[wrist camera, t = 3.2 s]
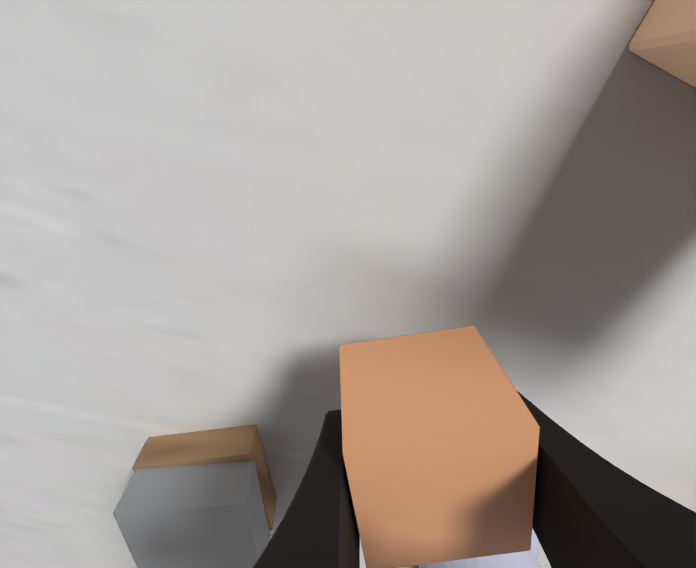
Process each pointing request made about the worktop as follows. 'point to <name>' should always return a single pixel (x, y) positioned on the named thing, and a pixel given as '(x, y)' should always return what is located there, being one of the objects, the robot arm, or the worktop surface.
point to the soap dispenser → (669, 38)
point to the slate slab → (194, 516)
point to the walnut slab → (212, 455)
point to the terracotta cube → (436, 449)
